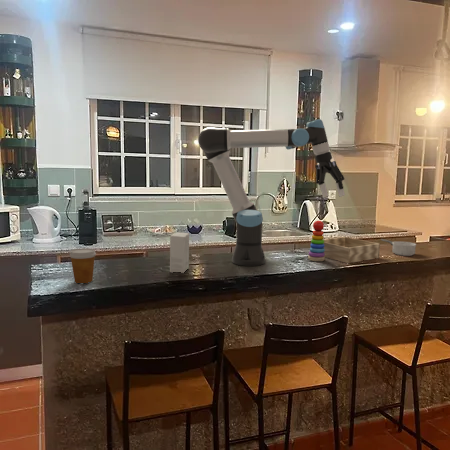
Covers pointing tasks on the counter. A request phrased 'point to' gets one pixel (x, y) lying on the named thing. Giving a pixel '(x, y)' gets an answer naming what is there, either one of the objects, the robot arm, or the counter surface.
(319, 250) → the stacking toy
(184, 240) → the skincare box
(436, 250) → the counter surface
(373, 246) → the open-top box
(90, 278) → the disposable coffee cup
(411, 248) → the saucepan
